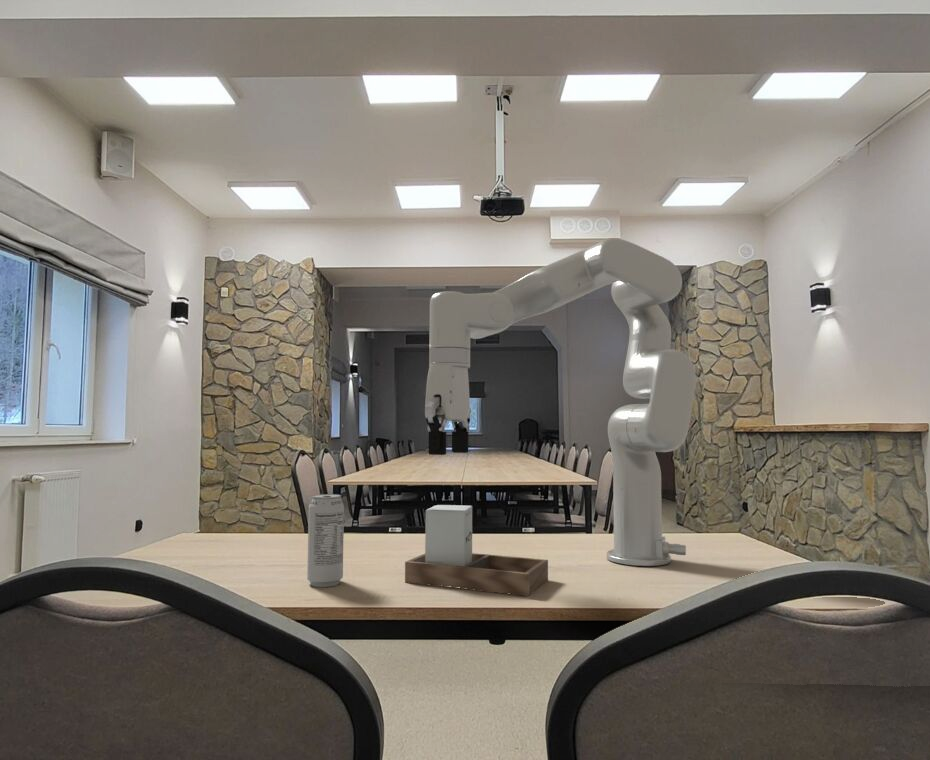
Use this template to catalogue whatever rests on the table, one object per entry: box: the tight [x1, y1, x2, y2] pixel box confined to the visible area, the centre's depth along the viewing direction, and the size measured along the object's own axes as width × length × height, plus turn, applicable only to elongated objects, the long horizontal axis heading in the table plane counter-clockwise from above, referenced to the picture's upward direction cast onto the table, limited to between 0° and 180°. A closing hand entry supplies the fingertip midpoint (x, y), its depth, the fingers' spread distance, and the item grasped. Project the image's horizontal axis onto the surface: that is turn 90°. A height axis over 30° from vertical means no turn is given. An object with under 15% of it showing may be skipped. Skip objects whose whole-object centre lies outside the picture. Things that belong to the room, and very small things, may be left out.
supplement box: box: [424, 504, 473, 566], centre depth 112 cm, size 7×7×13 cm
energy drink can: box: [306, 493, 345, 588], centre depth 108 cm, size 6×6×15 cm
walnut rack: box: [404, 552, 549, 597], centre depth 109 cm, size 22×12×4 cm, turn 66°
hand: (449, 453), depth 113 cm, fingers open, 9 cm apart
